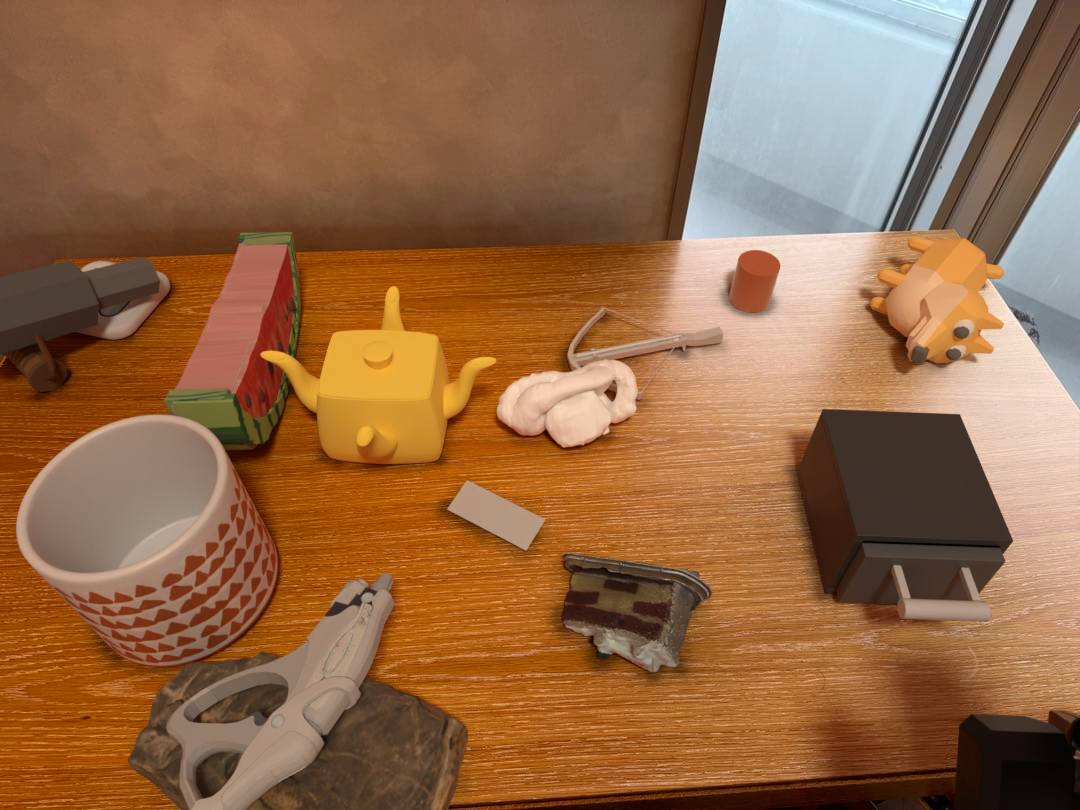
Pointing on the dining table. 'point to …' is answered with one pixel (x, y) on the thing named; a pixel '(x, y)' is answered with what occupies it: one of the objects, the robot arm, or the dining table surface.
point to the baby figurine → (570, 402)
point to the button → (124, 310)
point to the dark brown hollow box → (894, 486)
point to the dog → (940, 300)
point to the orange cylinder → (754, 280)
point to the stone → (341, 765)
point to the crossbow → (637, 346)
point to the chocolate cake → (632, 607)
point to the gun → (309, 711)
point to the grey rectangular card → (496, 515)
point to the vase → (150, 539)
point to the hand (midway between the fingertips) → (1054, 718)
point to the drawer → (922, 579)
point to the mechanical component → (62, 309)
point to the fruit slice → (244, 346)
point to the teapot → (382, 392)
